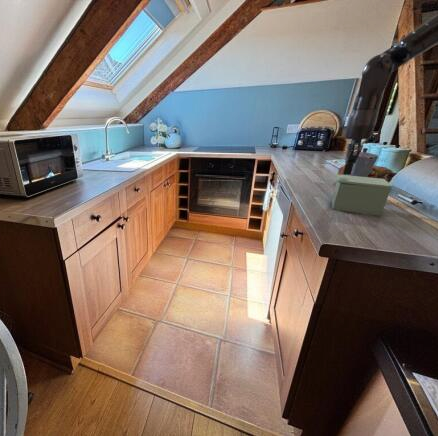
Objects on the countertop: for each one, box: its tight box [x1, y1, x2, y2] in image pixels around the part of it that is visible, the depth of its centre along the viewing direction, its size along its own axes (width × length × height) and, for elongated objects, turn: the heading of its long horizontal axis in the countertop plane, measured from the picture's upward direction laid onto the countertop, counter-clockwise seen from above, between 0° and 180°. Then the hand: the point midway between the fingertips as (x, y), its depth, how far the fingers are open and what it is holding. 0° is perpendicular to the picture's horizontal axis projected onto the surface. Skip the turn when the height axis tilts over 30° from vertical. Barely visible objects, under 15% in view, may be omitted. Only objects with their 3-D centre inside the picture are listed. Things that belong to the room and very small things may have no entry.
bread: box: [335, 164, 394, 183], centre depth 119 cm, size 19×11×10 cm, turn 73°
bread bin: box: [331, 181, 392, 217], centre depth 90 cm, size 14×12×10 cm
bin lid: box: [335, 173, 392, 189], centre depth 88 cm, size 14×12×1 cm
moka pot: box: [349, 147, 379, 177], centre depth 103 cm, size 10×15×20 cm, turn 170°
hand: (346, 174), depth 90 cm, fingers closed
